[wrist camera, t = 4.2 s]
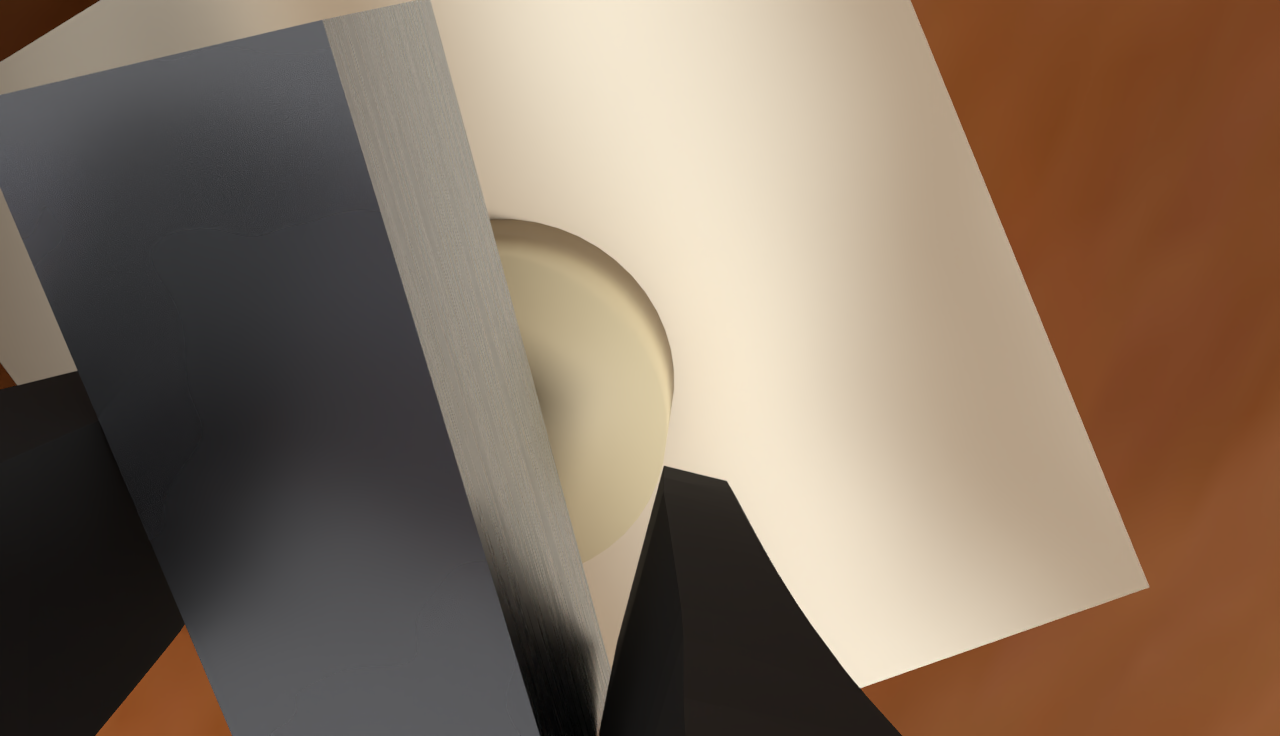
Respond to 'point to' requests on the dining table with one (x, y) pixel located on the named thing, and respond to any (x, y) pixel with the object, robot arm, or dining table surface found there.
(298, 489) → the dark rectangular block
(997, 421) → the base plate
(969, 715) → the dining table surface
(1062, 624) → the dining table surface
